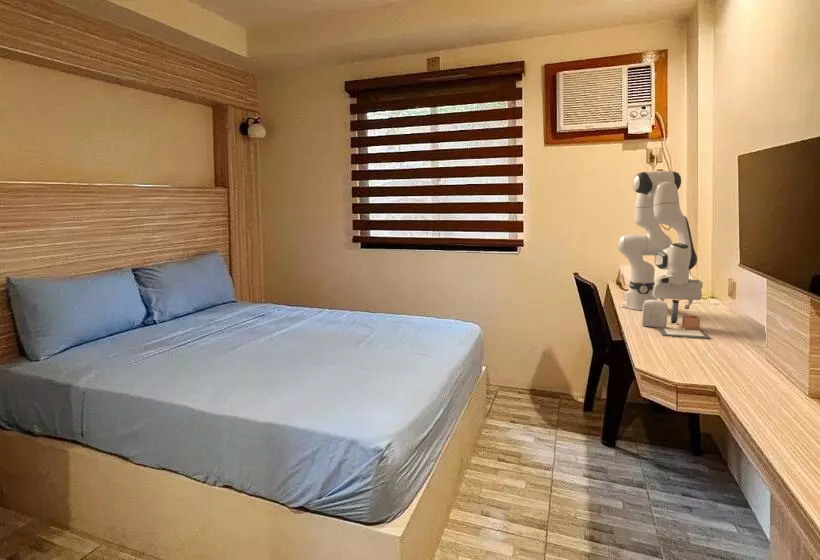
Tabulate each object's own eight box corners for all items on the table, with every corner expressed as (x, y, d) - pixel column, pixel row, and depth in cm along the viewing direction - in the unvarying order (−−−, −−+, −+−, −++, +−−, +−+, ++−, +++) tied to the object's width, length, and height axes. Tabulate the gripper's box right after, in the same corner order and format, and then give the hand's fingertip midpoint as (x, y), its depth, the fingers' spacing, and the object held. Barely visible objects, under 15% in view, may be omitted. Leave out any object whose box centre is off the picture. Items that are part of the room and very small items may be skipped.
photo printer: (666, 326, 231) (668, 300, 229) (666, 328, 228) (668, 301, 226) (642, 324, 236) (643, 298, 234) (641, 326, 233) (642, 299, 231)
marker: (670, 322, 239) (671, 299, 237) (676, 322, 238) (678, 299, 236) (671, 323, 236) (673, 300, 234) (677, 324, 235) (679, 300, 234)
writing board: (657, 329, 227) (658, 327, 227) (703, 331, 222) (703, 329, 222) (663, 336, 216) (663, 334, 216) (710, 339, 211) (710, 337, 211)
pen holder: (681, 326, 231) (682, 315, 230) (696, 327, 229) (697, 315, 228) (684, 330, 225) (685, 317, 224) (699, 330, 224) (700, 318, 223)
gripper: (701, 278, 233) (699, 308, 235) (652, 277, 239) (650, 306, 241) (705, 280, 227) (702, 311, 229) (655, 279, 233) (653, 308, 235)
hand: (675, 308), depth 235 cm, fingers open, 8 cm apart
